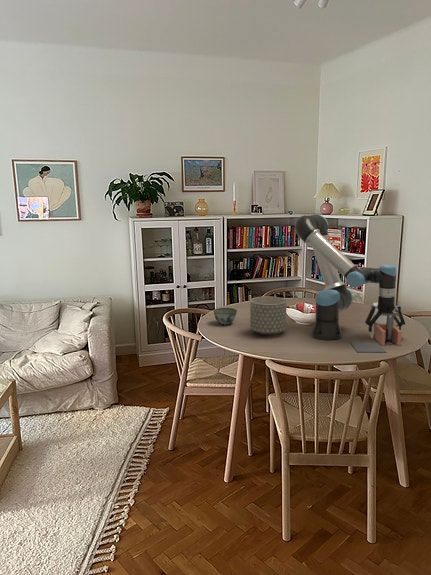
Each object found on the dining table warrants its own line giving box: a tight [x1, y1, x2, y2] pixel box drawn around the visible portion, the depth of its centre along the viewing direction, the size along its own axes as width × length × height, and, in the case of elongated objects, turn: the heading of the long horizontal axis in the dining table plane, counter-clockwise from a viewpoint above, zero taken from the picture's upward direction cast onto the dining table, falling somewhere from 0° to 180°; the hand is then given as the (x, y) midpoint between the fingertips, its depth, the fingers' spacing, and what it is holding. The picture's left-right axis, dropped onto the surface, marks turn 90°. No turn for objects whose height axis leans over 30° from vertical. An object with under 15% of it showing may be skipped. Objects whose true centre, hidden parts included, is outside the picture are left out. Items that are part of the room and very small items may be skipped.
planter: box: [249, 295, 288, 336], centre depth 223 cm, size 19×19×18 cm
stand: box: [382, 312, 399, 345], centre depth 204 cm, size 8×4×15 cm, turn 86°
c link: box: [373, 323, 403, 346], centre depth 208 cm, size 9×13×7 cm
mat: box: [350, 341, 387, 354], centre depth 199 cm, size 13×13×1 cm
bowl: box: [213, 307, 238, 326], centre depth 244 cm, size 14×13×8 cm
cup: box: [372, 302, 387, 324], centre depth 238 cm, size 10×10×11 cm
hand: (384, 337), depth 213 cm, fingers open, 12 cm apart
